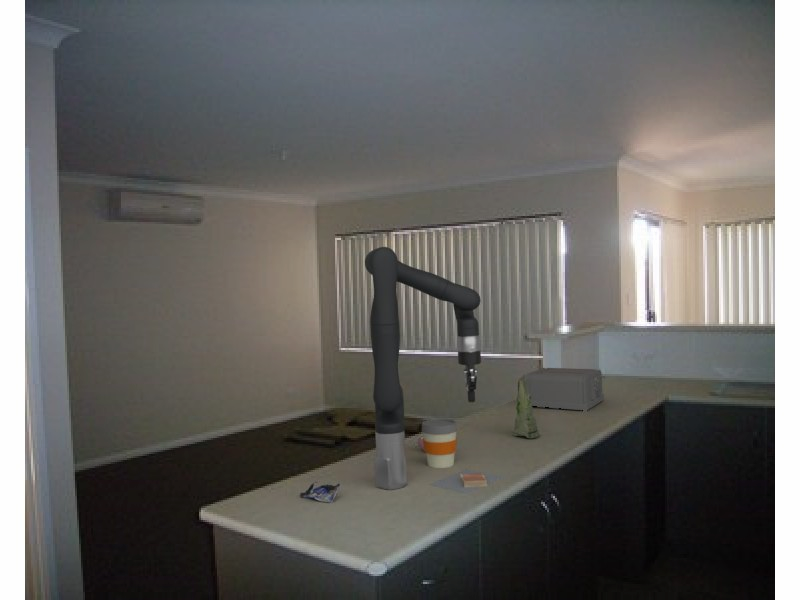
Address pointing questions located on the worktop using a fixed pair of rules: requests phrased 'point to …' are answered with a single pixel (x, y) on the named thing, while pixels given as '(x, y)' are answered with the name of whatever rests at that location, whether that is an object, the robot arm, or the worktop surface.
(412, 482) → the worktop surface
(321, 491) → the snack package
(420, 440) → the video game controller
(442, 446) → the reusable coffee cup
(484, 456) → the worktop surface
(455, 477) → the rubber mat
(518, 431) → the green rock spire
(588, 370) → the toaster
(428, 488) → the worktop surface
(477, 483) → the birch tile
